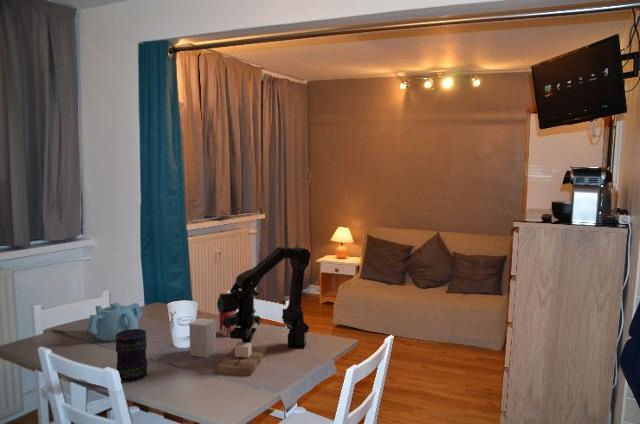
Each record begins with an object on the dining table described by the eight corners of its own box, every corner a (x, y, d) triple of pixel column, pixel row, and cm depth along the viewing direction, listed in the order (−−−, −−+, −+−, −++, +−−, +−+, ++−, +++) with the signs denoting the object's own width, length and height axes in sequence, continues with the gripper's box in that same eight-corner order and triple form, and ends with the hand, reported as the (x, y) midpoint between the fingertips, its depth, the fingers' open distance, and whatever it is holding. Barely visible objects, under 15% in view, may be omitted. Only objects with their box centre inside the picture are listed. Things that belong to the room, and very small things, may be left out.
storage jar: (135, 367, 174) (133, 327, 172) (154, 373, 169) (152, 331, 168) (110, 378, 165) (108, 335, 164) (129, 384, 160) (128, 341, 159)
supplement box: (216, 351, 190) (216, 319, 188) (206, 358, 183) (205, 325, 181) (200, 348, 192) (199, 317, 191) (189, 355, 185) (188, 323, 184)
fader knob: (238, 352, 181) (238, 342, 180) (251, 353, 180) (251, 342, 179) (235, 356, 177) (234, 345, 176) (248, 357, 176) (248, 346, 175)
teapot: (143, 327, 217) (141, 296, 216) (134, 342, 199) (133, 309, 197) (97, 329, 214) (95, 299, 213) (84, 345, 195) (82, 312, 194)
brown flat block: (236, 351, 189) (236, 344, 189) (266, 353, 187) (266, 346, 187) (217, 373, 170) (217, 365, 169) (250, 375, 168) (250, 368, 167)
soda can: (238, 331, 212) (238, 302, 210) (234, 337, 205) (233, 307, 203) (222, 330, 212) (222, 301, 211) (217, 336, 205) (216, 306, 204)
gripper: (233, 300, 191) (234, 338, 193) (215, 314, 173) (216, 357, 174) (261, 301, 189) (261, 340, 191) (246, 316, 171) (246, 359, 172)
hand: (246, 349), depth 182 cm, fingers closed
